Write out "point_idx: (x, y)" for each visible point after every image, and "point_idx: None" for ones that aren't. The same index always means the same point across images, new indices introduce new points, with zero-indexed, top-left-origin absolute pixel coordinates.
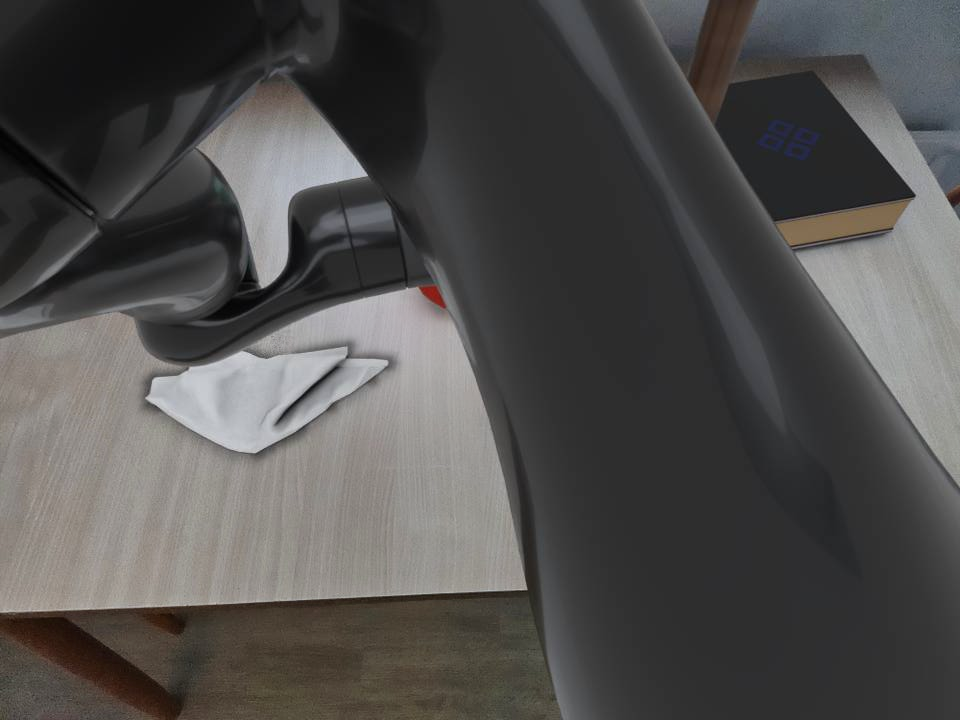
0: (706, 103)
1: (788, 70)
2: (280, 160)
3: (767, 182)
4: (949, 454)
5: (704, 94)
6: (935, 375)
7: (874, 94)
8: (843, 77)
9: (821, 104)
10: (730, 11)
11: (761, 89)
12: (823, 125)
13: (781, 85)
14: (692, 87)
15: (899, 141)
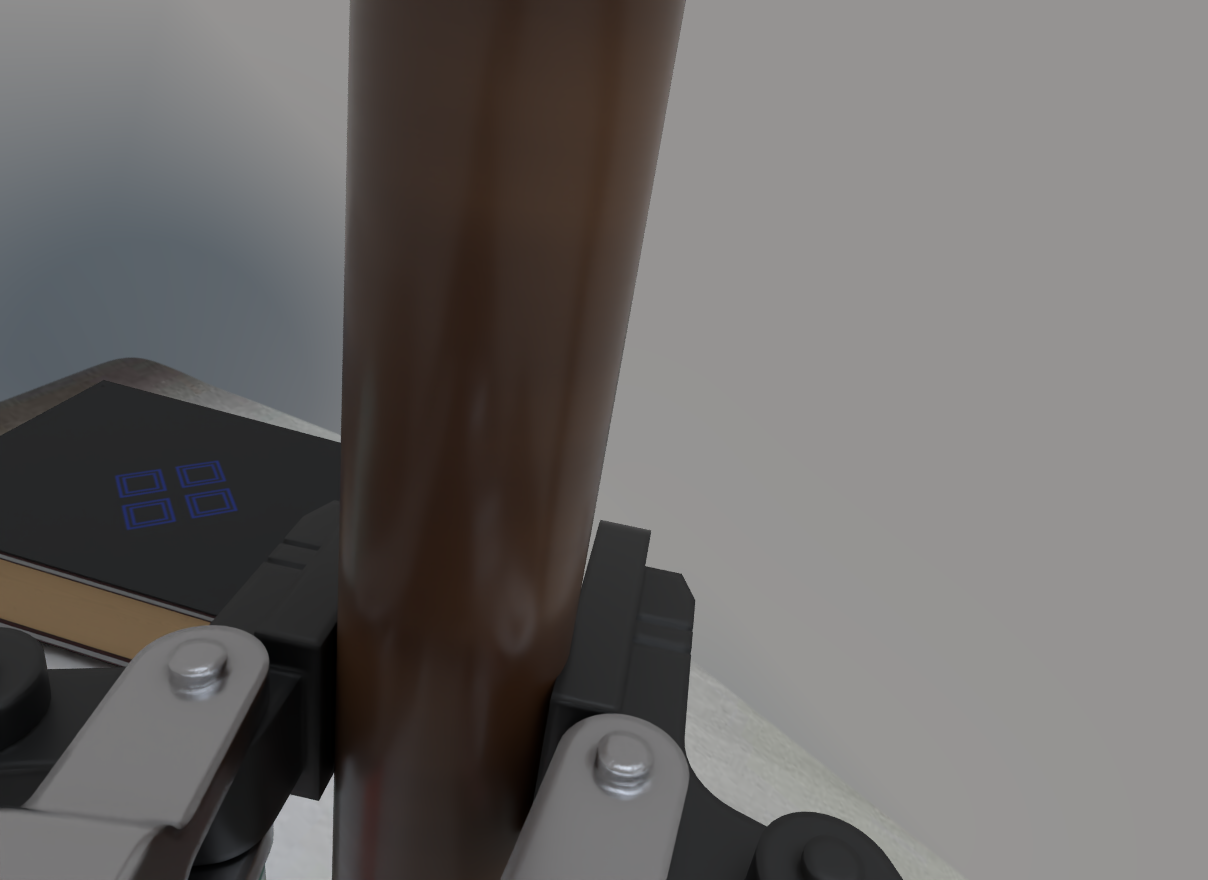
0: (635, 176)
1: (39, 408)
2: None
3: (216, 581)
4: (829, 772)
5: (627, 101)
6: (691, 683)
7: (210, 387)
8: (141, 384)
9: (172, 419)
10: None
11: (37, 442)
12: (209, 445)
13: (70, 421)
14: (533, 65)
15: (306, 426)
